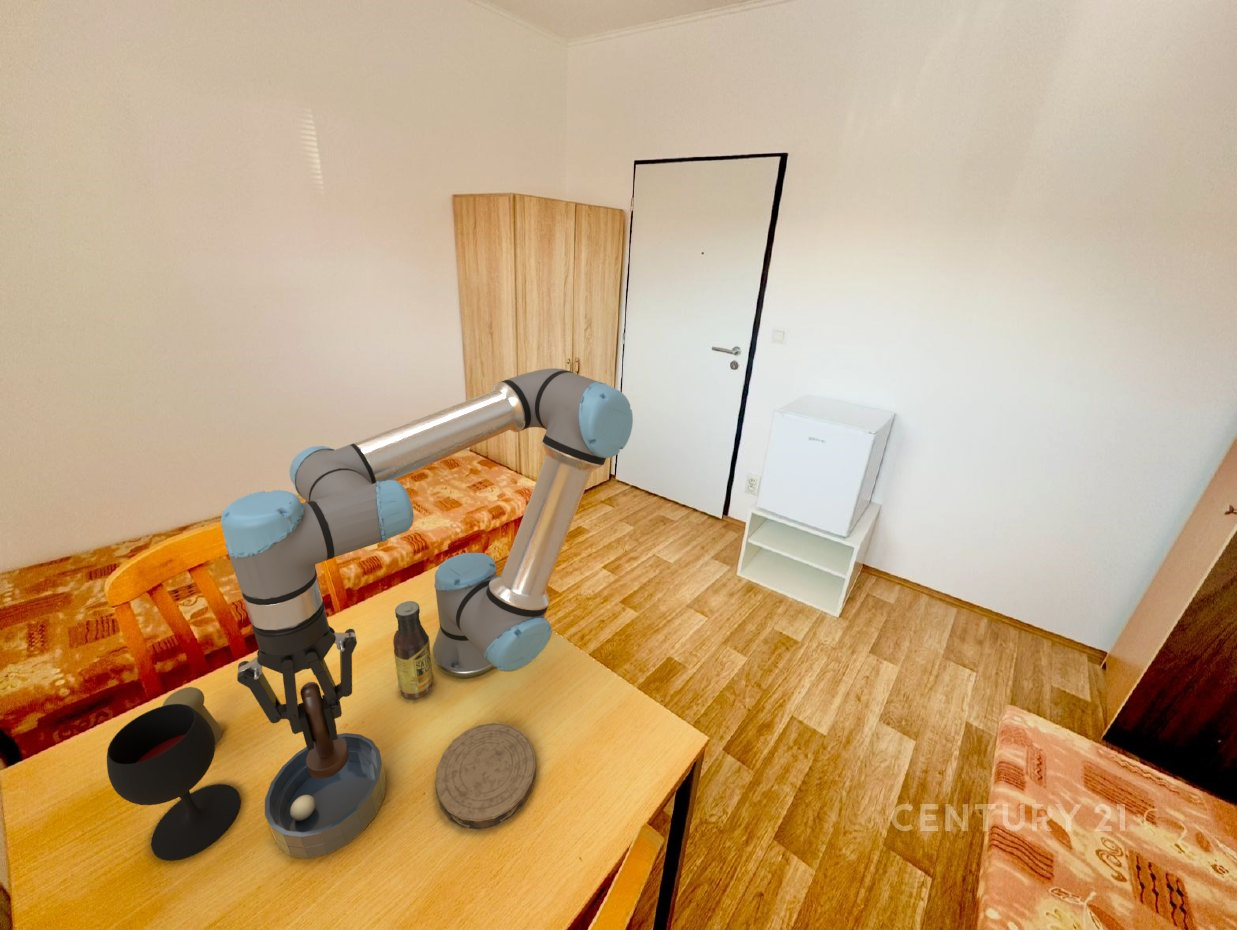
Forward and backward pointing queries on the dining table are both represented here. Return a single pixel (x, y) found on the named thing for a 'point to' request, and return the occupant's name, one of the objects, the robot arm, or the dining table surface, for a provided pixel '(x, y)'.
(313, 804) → the egg
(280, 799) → the bowl
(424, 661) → the sauce bottle
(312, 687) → the brown rubber stamp
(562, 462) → the robot arm
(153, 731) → the wine glass
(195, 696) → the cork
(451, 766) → the tin can
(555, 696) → the dining table surface
